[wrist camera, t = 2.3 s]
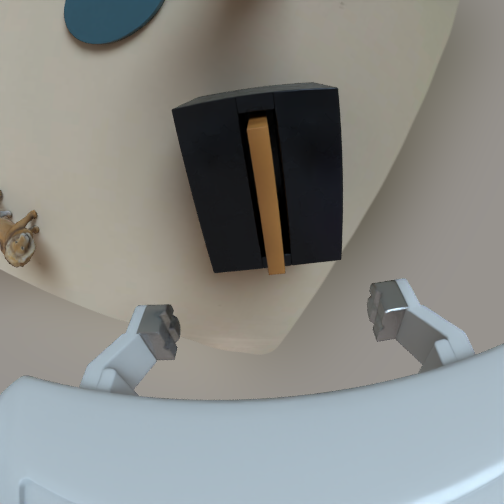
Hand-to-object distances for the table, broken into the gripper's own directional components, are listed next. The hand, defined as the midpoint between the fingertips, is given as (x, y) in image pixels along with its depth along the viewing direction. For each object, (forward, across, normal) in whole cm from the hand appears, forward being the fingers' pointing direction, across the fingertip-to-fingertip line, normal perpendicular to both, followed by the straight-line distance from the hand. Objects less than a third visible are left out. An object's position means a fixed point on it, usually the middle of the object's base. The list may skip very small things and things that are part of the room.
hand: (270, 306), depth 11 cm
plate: (+20, +12, -22) cm, 32 cm away
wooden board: (+18, 0, 0) cm, 18 cm away
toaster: (+20, 0, 0) cm, 20 cm away
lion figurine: (+21, +35, 0) cm, 40 cm away
